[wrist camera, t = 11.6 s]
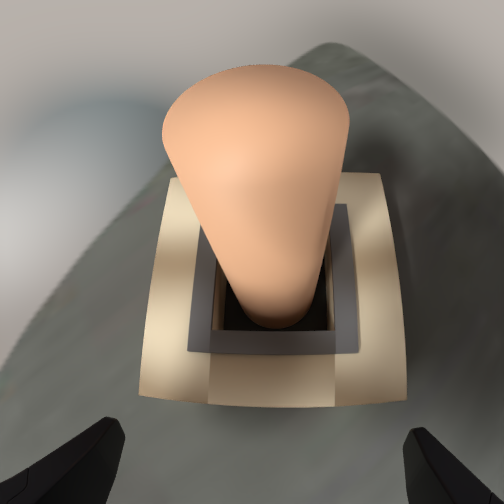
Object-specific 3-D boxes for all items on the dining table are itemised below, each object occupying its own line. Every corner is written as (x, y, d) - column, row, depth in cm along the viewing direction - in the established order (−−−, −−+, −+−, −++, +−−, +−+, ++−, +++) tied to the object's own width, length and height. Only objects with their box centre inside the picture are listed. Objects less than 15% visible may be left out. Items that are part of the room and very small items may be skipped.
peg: (328, 300, 17) (388, 128, 6) (265, 343, 16) (217, 225, 5) (285, 245, 18) (275, 50, 7) (225, 283, 18) (138, 111, 7)
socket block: (390, 399, 14) (409, 399, 11) (158, 396, 15) (135, 394, 13) (371, 198, 19) (380, 170, 16) (182, 201, 20) (169, 174, 18)
